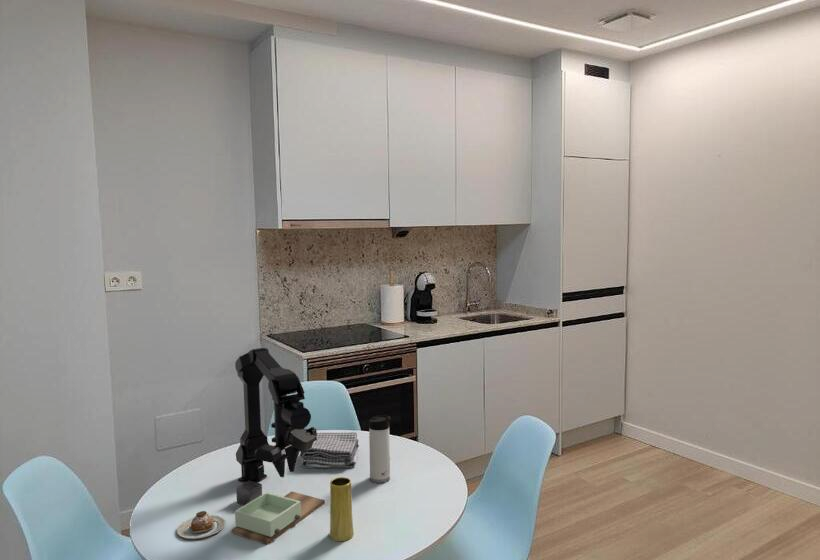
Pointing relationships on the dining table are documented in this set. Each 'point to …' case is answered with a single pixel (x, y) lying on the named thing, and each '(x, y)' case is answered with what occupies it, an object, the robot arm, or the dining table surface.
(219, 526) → the pastry
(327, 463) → the towel
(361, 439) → the dining table surface
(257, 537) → the track
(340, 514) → the vase
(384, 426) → the travel mug
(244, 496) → the block
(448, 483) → the dining table surface
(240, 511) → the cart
